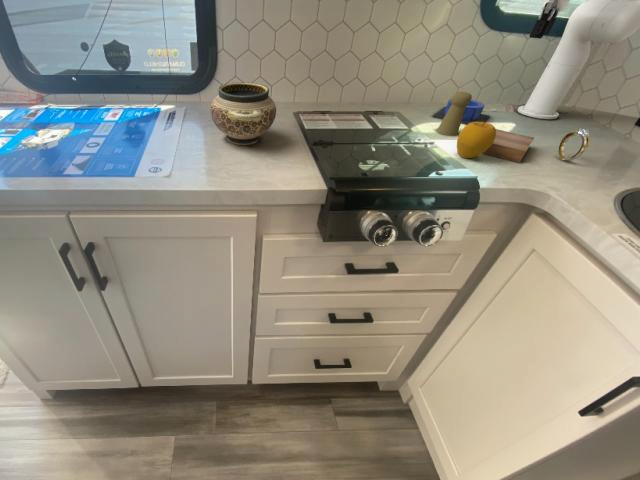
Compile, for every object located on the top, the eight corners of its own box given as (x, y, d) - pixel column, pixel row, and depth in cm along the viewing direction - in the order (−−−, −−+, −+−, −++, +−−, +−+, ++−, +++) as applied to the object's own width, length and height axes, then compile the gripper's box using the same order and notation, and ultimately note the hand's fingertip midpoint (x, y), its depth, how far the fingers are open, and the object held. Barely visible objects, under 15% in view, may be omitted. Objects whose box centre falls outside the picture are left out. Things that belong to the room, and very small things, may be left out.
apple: (471, 165, 90) (490, 130, 84) (443, 154, 95) (458, 120, 89) (490, 159, 94) (508, 124, 87) (461, 148, 99) (477, 115, 92)
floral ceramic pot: (220, 133, 109) (206, 80, 99) (275, 119, 107) (267, 63, 97) (219, 166, 92) (202, 106, 82) (284, 150, 90) (275, 86, 79)
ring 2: (577, 165, 92) (600, 134, 87) (565, 165, 92) (587, 133, 87) (560, 155, 97) (581, 124, 92) (549, 154, 97) (569, 124, 92)
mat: (445, 107, 128) (445, 106, 127) (489, 116, 121) (489, 115, 121) (432, 116, 119) (432, 115, 119) (478, 127, 113) (479, 126, 112)
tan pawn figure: (452, 137, 105) (470, 96, 98) (433, 131, 109) (449, 91, 101) (460, 132, 108) (478, 93, 101) (442, 127, 111) (458, 88, 104)
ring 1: (449, 108, 125) (454, 96, 123) (481, 115, 121) (487, 102, 118) (440, 115, 119) (445, 102, 116) (474, 123, 114) (480, 109, 112)
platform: (476, 136, 107) (481, 125, 105) (527, 148, 101) (534, 137, 98) (464, 148, 99) (469, 137, 97) (519, 162, 93) (526, 151, 91)
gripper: (593, -46, 83) (547, 41, 96) (600, -46, 93) (558, 34, 105) (556, -47, 87) (517, 37, 99) (567, -46, 96) (530, 31, 108)
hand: (538, 35), depth 102 cm, fingers open, 9 cm apart
